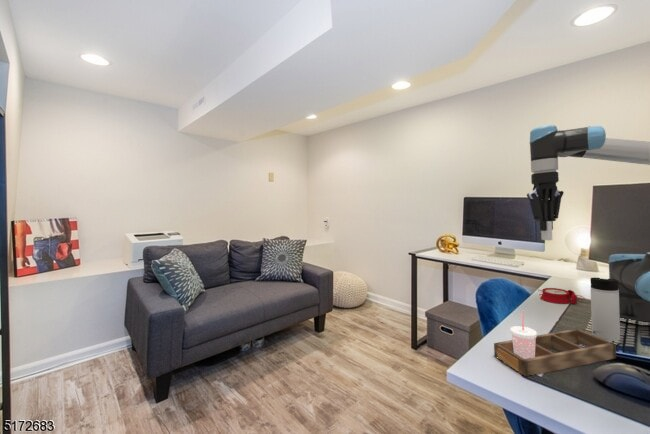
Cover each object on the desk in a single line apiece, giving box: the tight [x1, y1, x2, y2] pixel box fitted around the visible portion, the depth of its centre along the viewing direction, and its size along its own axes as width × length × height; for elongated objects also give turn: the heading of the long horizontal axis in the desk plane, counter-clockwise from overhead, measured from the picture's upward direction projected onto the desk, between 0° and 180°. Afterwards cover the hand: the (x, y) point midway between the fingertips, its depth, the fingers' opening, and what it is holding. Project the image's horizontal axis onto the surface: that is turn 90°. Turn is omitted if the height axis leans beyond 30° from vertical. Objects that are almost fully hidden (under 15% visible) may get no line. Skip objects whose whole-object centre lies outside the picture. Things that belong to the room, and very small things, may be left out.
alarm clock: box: [537, 287, 585, 305], centre depth 125 cm, size 10×6×15 cm
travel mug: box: [590, 277, 621, 341], centre depth 89 cm, size 6×7×20 cm
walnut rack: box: [493, 328, 617, 377], centre depth 83 cm, size 30×10×4 cm, turn 101°
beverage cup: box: [509, 312, 538, 359], centre depth 81 cm, size 6×6×14 cm
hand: (546, 239), depth 102 cm, fingers closed
